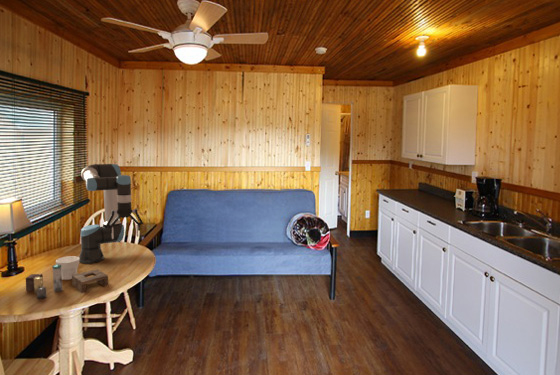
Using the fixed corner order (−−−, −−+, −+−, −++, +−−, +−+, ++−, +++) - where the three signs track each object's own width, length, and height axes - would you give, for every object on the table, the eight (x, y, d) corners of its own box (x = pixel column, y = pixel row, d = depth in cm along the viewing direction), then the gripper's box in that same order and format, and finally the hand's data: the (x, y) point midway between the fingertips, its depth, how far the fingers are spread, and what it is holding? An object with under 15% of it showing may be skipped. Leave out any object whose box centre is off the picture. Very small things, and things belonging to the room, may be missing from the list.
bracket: (72, 285, 214) (71, 275, 214) (97, 278, 225) (97, 269, 224) (82, 292, 205) (81, 282, 204) (108, 285, 216) (107, 275, 215)
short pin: (36, 297, 198) (35, 288, 197) (44, 295, 201) (44, 286, 200) (38, 299, 195) (38, 290, 194) (47, 297, 198) (46, 288, 197)
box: (32, 286, 211) (31, 273, 210) (43, 286, 212) (42, 273, 211) (25, 291, 205) (25, 278, 204) (37, 291, 206) (36, 278, 205)
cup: (63, 282, 217) (62, 264, 216) (52, 278, 224) (51, 260, 222) (84, 276, 228) (84, 258, 226) (73, 271, 234) (72, 254, 233)
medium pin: (33, 292, 204) (32, 278, 203) (42, 290, 207) (41, 276, 206) (36, 294, 201) (35, 280, 200) (44, 292, 204) (43, 278, 203)
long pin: (52, 290, 207) (51, 265, 205) (60, 288, 210) (59, 263, 208) (55, 292, 204) (53, 267, 202) (63, 290, 207) (62, 265, 205)
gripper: (101, 204, 212) (102, 241, 215) (147, 201, 223) (148, 236, 226) (100, 201, 218) (101, 237, 221) (145, 199, 230) (146, 233, 233)
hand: (125, 237), depth 224 cm, fingers open, 13 cm apart
